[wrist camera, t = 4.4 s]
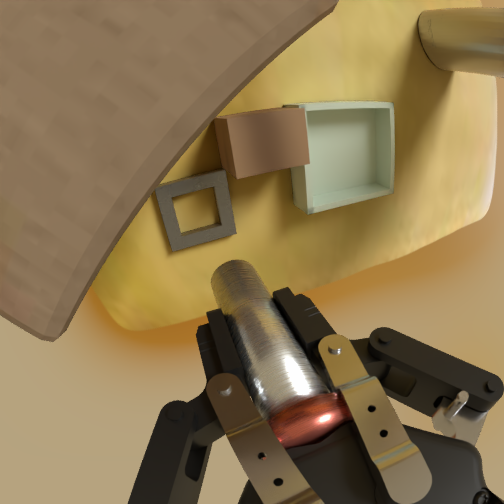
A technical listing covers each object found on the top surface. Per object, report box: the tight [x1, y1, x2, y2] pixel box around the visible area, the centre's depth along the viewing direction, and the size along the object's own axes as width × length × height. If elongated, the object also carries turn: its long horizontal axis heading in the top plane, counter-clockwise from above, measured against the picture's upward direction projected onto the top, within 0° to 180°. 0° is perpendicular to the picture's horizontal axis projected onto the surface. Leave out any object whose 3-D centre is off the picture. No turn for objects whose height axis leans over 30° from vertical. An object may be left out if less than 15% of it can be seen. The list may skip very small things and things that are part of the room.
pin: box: [211, 260, 350, 460], centre depth 12 cm, size 3×3×10 cm
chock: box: [213, 108, 310, 179], centre depth 22 cm, size 6×4×5 cm
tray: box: [284, 101, 395, 215], centre depth 26 cm, size 11×10×3 cm
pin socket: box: [155, 168, 237, 252], centre depth 25 cm, size 6×6×1 cm
